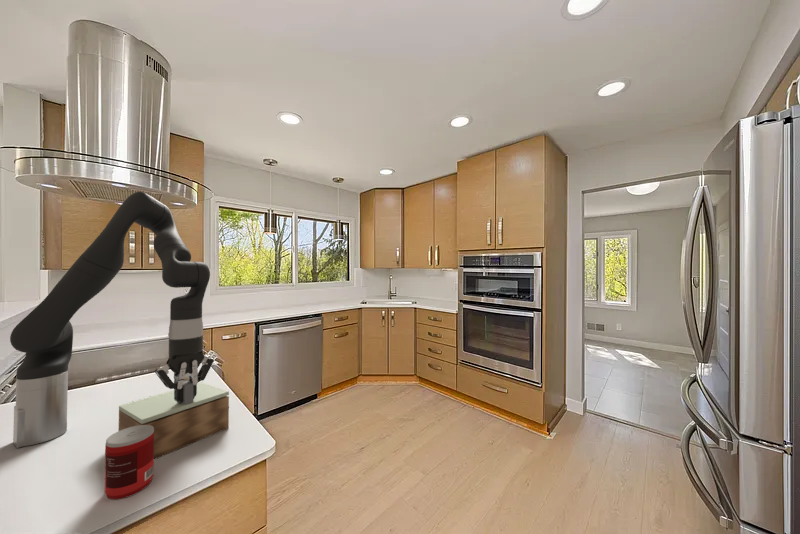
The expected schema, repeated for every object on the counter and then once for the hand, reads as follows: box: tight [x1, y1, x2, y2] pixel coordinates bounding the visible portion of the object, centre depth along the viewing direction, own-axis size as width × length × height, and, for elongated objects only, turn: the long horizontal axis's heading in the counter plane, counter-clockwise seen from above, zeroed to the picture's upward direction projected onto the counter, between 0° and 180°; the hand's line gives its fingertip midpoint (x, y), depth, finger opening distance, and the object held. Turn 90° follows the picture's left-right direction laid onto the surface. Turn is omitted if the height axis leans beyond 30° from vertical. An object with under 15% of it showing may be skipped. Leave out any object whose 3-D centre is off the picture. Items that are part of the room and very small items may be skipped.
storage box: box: [118, 395, 230, 461], centre depth 83 cm, size 20×16×9 cm
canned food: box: [104, 425, 155, 500], centre depth 63 cm, size 8×8×11 cm
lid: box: [118, 381, 230, 424], centre depth 83 cm, size 20×16×6 cm
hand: (185, 400), depth 80 cm, fingers closed on lid, 2 cm apart
